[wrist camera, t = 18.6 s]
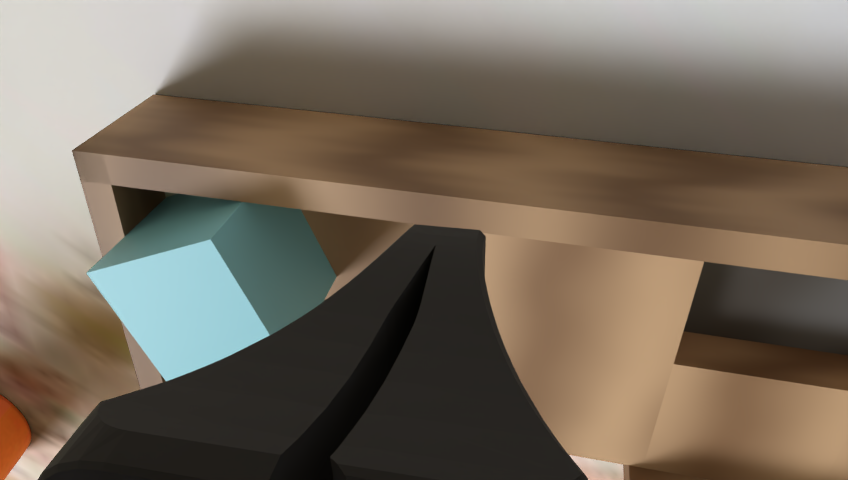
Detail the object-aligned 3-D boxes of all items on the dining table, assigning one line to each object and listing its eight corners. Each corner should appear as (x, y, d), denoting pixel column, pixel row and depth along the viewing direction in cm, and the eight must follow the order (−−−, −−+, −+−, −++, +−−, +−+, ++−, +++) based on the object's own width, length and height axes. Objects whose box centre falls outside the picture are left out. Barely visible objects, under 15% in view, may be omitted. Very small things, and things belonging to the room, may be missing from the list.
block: (336, 276, 24) (288, 365, 20) (232, 300, 25) (170, 386, 22) (275, 163, 22) (210, 239, 18) (166, 197, 23) (86, 273, 20)
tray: (1285, 213, 18) (1457, 319, 15) (1037, 513, 26) (1111, 635, 22) (153, 94, 24) (71, 150, 20) (210, 370, 31) (157, 449, 27)
